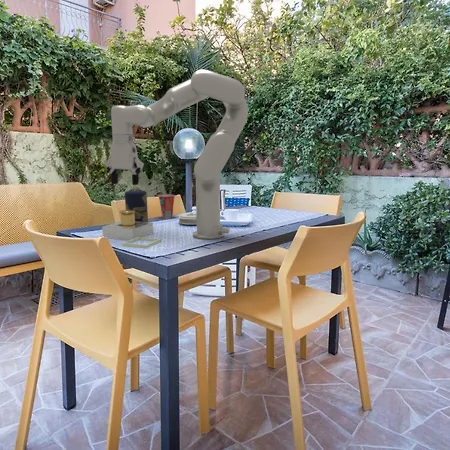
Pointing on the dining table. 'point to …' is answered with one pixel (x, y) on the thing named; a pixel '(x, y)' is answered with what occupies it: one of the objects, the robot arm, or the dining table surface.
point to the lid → (188, 218)
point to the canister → (137, 204)
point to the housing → (127, 230)
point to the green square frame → (129, 244)
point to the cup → (166, 205)
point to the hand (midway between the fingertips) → (125, 184)
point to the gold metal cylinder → (127, 218)
